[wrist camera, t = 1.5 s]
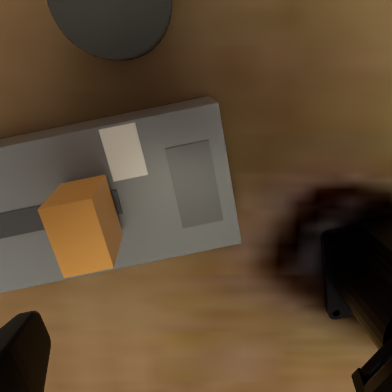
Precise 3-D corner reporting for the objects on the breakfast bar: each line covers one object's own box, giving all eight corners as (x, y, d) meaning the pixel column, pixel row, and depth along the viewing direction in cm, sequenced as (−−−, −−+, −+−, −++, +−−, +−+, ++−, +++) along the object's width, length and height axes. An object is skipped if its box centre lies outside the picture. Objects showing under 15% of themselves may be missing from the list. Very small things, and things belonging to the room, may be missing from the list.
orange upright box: (123, 233, 17) (113, 268, 14) (81, 242, 17) (64, 278, 14) (105, 174, 16) (91, 198, 13) (60, 183, 16) (37, 209, 13)
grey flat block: (230, 215, 21) (242, 244, 18) (-67, 276, 21) (-112, 317, 18) (209, 95, 19) (218, 102, 15) (-128, 165, 19) (-193, 187, 15)
